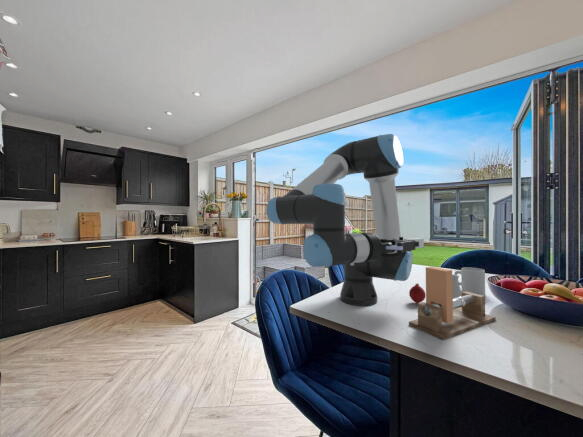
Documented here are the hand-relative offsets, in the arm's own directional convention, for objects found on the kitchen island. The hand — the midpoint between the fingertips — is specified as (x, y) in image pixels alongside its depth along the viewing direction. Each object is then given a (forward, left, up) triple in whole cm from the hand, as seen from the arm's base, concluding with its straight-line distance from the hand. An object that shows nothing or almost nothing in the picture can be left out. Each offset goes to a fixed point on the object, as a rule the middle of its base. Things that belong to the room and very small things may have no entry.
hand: (421, 242), depth 73 cm
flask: (-28, +30, -27) cm, 49 cm away
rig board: (-6, +14, -27) cm, 31 cm away
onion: (-24, +12, -27) cm, 38 cm away
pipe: (-6, +14, -23) cm, 27 cm away
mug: (-36, +42, -27) cm, 62 cm away
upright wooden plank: (-3, +7, -24) cm, 26 cm away
